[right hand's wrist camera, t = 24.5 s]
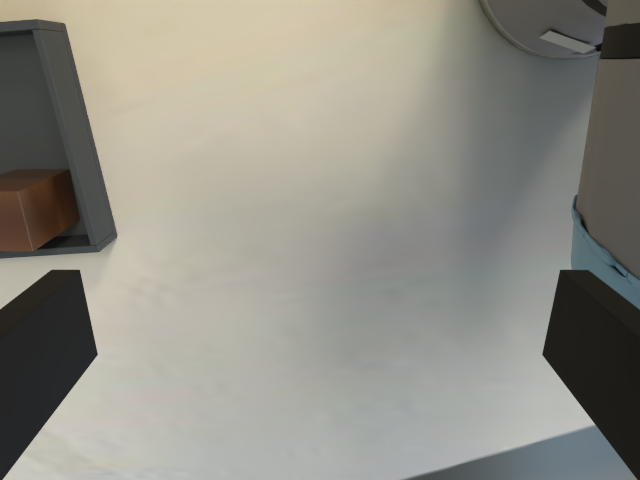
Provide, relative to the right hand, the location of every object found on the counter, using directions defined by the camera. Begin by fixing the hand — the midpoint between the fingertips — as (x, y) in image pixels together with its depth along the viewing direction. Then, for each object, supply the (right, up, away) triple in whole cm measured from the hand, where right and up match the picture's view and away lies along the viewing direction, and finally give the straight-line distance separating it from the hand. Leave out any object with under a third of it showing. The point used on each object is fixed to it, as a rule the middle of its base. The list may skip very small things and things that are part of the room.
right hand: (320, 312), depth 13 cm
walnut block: (-23, +6, +26) cm, 35 cm away
